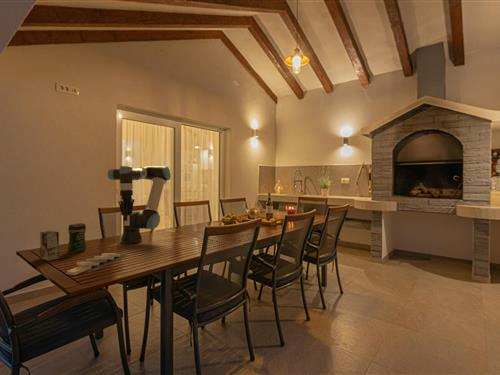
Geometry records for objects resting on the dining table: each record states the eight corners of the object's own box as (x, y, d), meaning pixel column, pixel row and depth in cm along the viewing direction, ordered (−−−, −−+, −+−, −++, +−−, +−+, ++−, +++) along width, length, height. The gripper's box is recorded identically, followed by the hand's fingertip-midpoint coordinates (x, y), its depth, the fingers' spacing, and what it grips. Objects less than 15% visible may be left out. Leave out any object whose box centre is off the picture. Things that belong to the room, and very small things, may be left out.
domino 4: (107, 256, 159) (94, 255, 150) (114, 256, 158) (101, 256, 148) (106, 258, 159) (93, 258, 149) (113, 259, 157) (101, 259, 148)
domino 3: (100, 258, 154) (86, 258, 144) (107, 259, 152) (93, 259, 143) (99, 261, 153) (85, 261, 144) (106, 262, 152) (93, 262, 143)
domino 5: (114, 253, 164) (102, 253, 155) (120, 254, 163) (109, 253, 154) (113, 256, 164) (101, 255, 155) (120, 256, 163) (108, 256, 153)
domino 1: (83, 264, 143) (66, 270, 133) (91, 265, 142) (74, 271, 132) (83, 267, 143) (66, 274, 133) (91, 268, 142) (74, 275, 132)
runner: (113, 254, 168) (113, 253, 168) (129, 256, 166) (129, 255, 165) (71, 270, 139) (71, 269, 139) (89, 272, 136) (89, 272, 136)
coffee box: (59, 258, 159) (59, 232, 159) (47, 261, 154) (46, 233, 153) (52, 255, 164) (52, 230, 163) (40, 258, 158) (39, 232, 158)
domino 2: (92, 261, 148) (77, 261, 139) (99, 262, 147) (85, 262, 138) (91, 264, 148) (76, 264, 138) (99, 265, 147) (84, 265, 137)
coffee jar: (72, 254, 168) (72, 225, 167) (66, 252, 172) (65, 224, 171) (88, 250, 176) (88, 223, 175) (81, 248, 180) (81, 222, 179)
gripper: (128, 188, 178) (128, 223, 180) (114, 190, 166) (114, 227, 167) (137, 189, 177) (138, 223, 178) (124, 190, 164) (124, 227, 165)
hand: (126, 225), depth 173 cm, fingers closed
